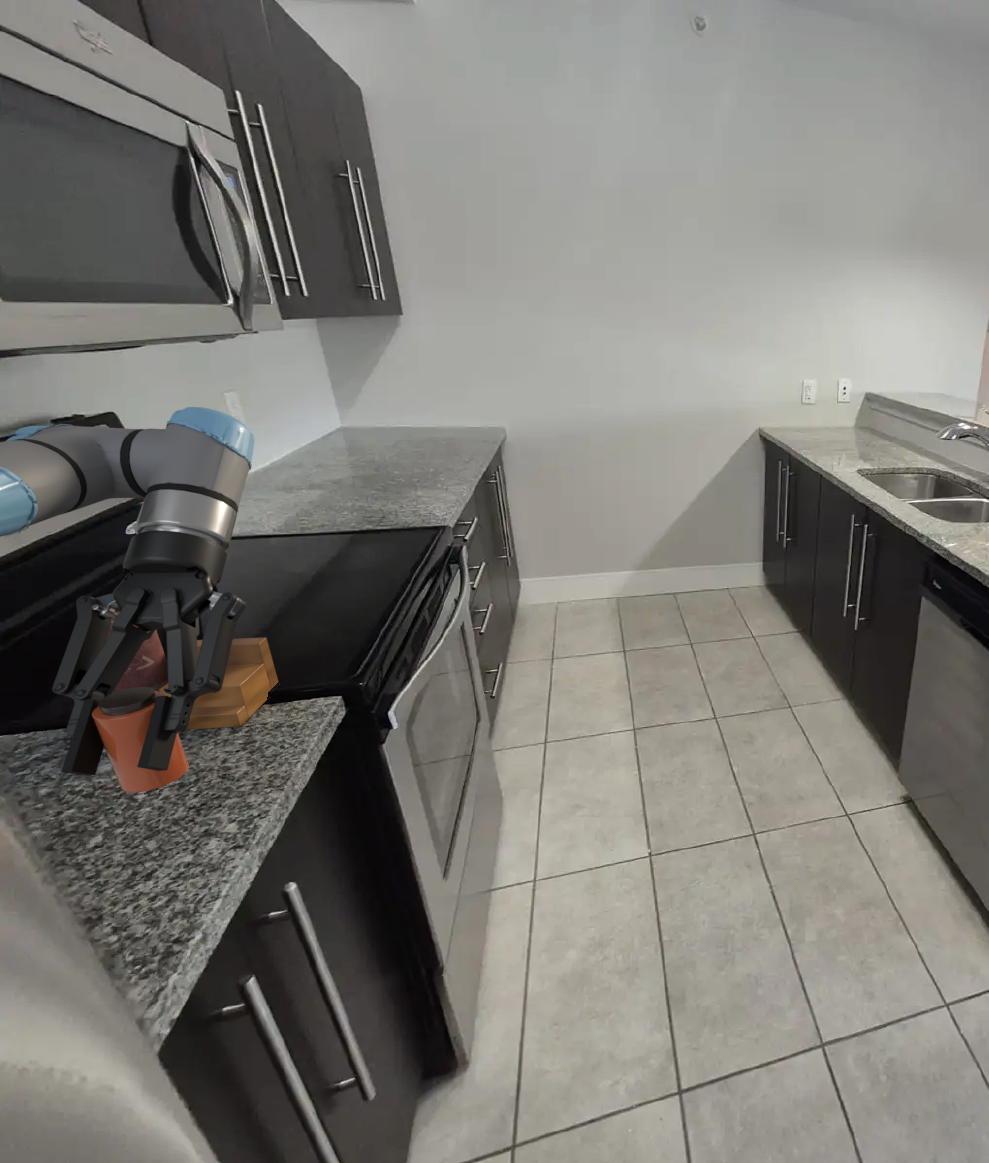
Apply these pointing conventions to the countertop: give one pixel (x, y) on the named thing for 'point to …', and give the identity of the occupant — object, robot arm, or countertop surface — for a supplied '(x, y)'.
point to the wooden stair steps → (236, 686)
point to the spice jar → (134, 739)
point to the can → (145, 665)
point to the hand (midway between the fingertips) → (116, 770)
